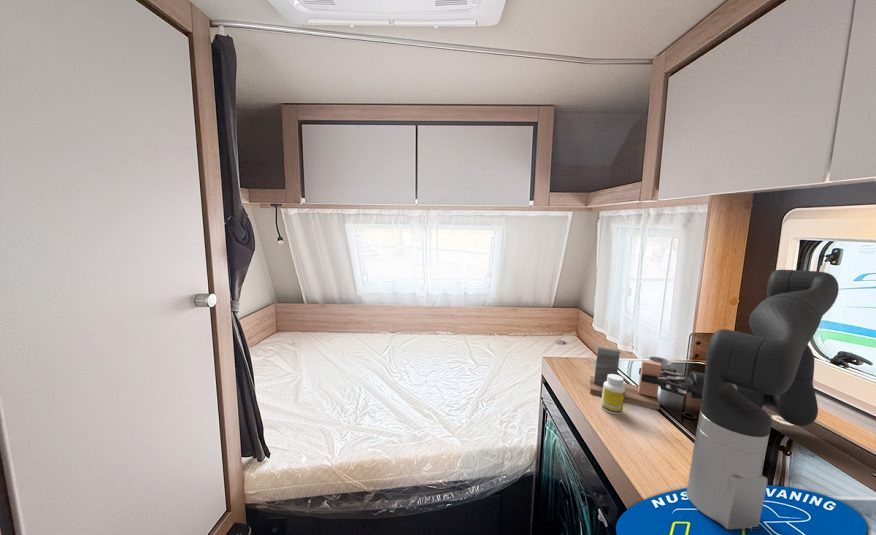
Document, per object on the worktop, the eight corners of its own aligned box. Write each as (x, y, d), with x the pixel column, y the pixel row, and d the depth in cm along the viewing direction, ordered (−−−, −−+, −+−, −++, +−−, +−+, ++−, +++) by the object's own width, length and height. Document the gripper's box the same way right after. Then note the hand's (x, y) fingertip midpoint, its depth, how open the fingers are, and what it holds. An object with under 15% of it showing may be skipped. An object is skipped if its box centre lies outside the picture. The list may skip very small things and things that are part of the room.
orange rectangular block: (656, 397, 95) (661, 365, 94) (638, 393, 97) (643, 362, 95) (655, 394, 97) (660, 363, 95) (637, 390, 99) (642, 359, 97)
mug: (673, 384, 108) (675, 365, 107) (651, 381, 109) (654, 363, 108) (657, 371, 118) (660, 354, 117) (638, 369, 119) (640, 352, 118)
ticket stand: (659, 409, 91) (665, 365, 90) (590, 393, 99) (595, 351, 97) (652, 394, 100) (658, 353, 99) (589, 380, 108) (594, 341, 106)
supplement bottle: (625, 416, 87) (629, 382, 86) (603, 413, 88) (607, 380, 87) (618, 405, 93) (622, 374, 91) (598, 403, 94) (601, 371, 92)
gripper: (704, 366, 96) (638, 354, 103) (723, 387, 83) (645, 371, 90) (700, 389, 97) (635, 376, 104) (718, 413, 84) (642, 396, 91)
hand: (640, 374), depth 97 cm, fingers open, 4 cm apart
